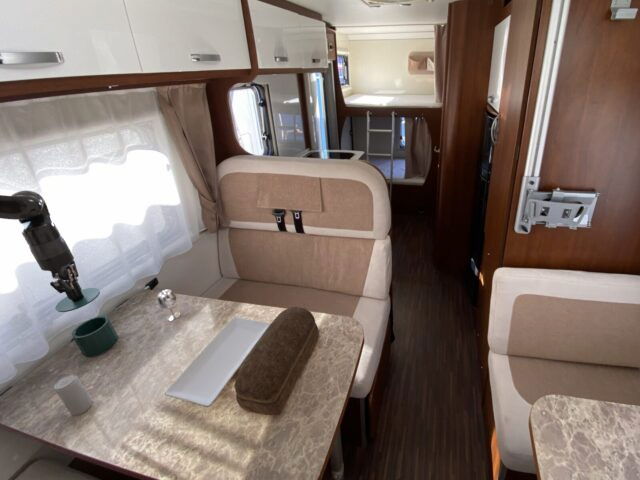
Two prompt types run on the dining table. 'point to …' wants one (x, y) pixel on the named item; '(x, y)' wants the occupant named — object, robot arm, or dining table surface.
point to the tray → (218, 362)
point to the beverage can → (73, 394)
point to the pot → (95, 336)
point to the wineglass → (168, 302)
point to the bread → (276, 362)
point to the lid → (77, 299)
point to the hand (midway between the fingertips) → (75, 294)
